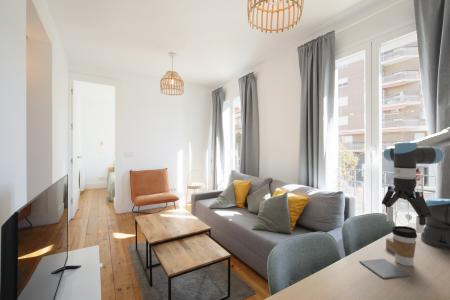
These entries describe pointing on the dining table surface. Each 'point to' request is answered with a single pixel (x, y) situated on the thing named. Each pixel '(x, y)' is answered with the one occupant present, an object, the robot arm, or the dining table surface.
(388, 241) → the walnut block
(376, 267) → the slate coaster
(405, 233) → the coffee cup
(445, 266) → the dining table surface
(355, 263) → the dining table surface
